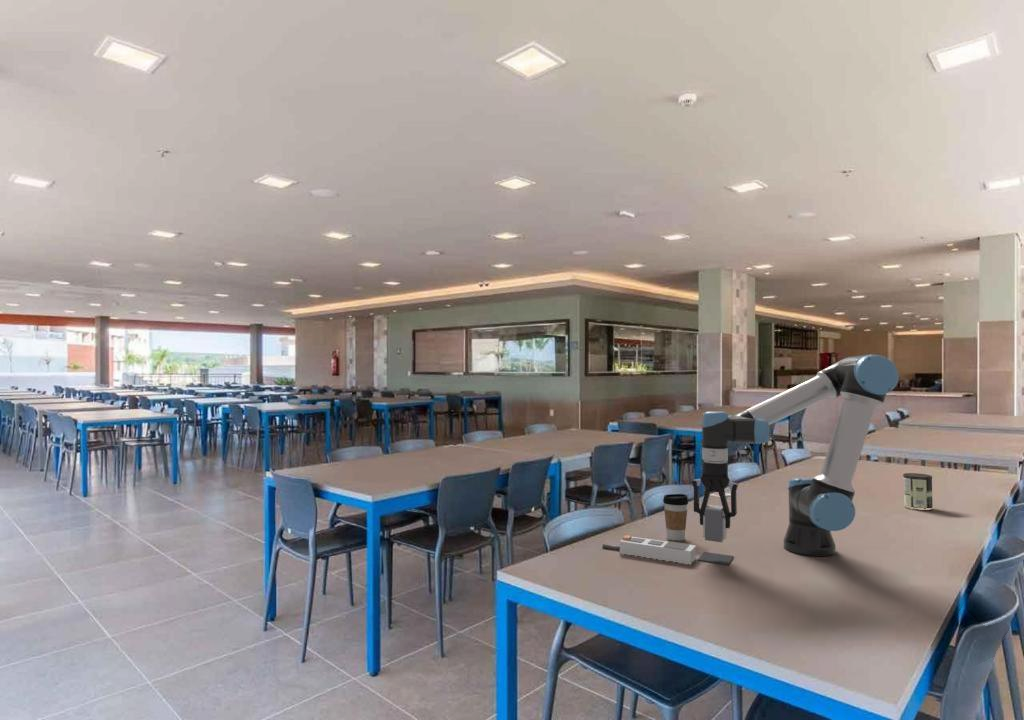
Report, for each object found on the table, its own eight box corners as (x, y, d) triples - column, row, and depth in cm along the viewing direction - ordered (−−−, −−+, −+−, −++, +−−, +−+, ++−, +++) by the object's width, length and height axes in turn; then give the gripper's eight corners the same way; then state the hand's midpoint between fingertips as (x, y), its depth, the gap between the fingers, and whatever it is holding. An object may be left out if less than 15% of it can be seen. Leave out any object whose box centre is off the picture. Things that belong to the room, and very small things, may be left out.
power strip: (695, 558, 182) (695, 542, 182) (690, 564, 176) (690, 548, 176) (606, 545, 197) (606, 530, 197) (599, 550, 190) (599, 535, 191)
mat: (733, 557, 183) (733, 556, 183) (728, 565, 176) (728, 564, 176) (703, 553, 188) (703, 551, 188) (697, 560, 180) (697, 559, 180)
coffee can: (921, 505, 256) (921, 472, 256) (938, 511, 245) (938, 477, 246) (898, 505, 256) (897, 472, 256) (913, 511, 245) (913, 477, 246)
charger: (724, 538, 183) (724, 506, 183) (721, 542, 178) (721, 509, 179) (708, 536, 185) (708, 504, 186) (704, 540, 181) (704, 507, 181)
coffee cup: (689, 542, 200) (689, 498, 200) (663, 541, 201) (663, 497, 202) (687, 535, 208) (687, 493, 208) (662, 534, 210) (662, 492, 210)
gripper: (682, 460, 184) (682, 535, 183) (744, 465, 175) (744, 544, 174) (688, 457, 190) (688, 530, 190) (747, 462, 181) (747, 538, 181)
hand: (714, 537), depth 182 cm, fingers closed on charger, 5 cm apart
